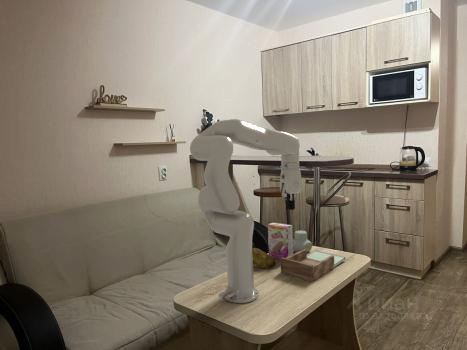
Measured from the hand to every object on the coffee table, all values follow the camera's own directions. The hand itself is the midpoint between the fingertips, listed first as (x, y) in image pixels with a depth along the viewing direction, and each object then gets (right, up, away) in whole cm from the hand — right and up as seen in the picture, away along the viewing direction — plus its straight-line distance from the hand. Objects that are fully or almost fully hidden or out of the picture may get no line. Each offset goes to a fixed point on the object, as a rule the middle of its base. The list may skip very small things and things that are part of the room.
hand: (290, 209), depth 148 cm
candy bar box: (-2, -25, +16) cm, 30 cm away
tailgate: (+14, -24, +6) cm, 28 cm away
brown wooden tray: (+7, -26, -1) cm, 27 cm away
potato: (-12, -27, +7) cm, 30 cm away
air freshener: (+9, -24, +24) cm, 35 cm away
